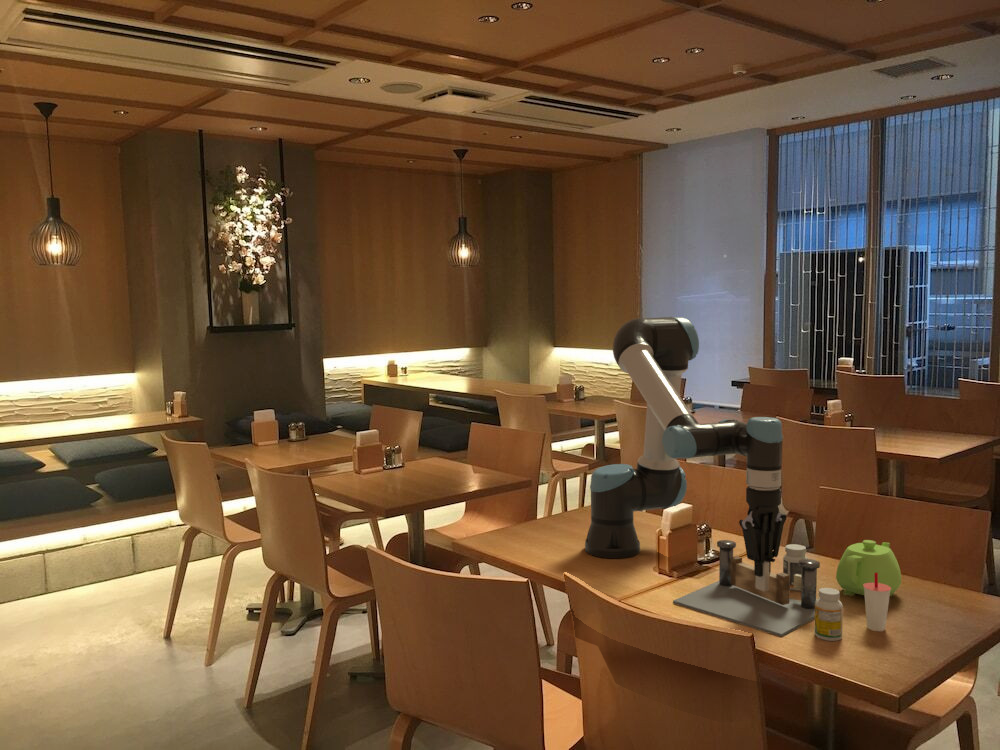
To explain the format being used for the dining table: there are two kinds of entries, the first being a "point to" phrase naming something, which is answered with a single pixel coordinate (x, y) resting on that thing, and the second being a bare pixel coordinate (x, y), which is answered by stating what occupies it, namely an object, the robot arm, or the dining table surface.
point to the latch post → (807, 582)
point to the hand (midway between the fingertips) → (762, 589)
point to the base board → (747, 608)
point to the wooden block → (746, 580)
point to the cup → (876, 604)
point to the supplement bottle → (828, 615)
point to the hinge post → (725, 561)
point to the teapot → (868, 567)
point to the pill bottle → (793, 561)
